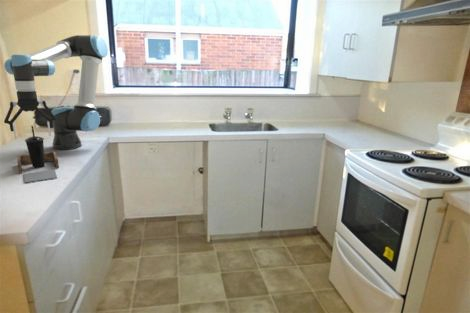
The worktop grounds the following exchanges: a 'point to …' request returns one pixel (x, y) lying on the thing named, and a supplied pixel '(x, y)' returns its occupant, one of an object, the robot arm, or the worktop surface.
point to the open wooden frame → (26, 160)
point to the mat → (39, 176)
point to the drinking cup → (36, 150)
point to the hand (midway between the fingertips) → (33, 136)
